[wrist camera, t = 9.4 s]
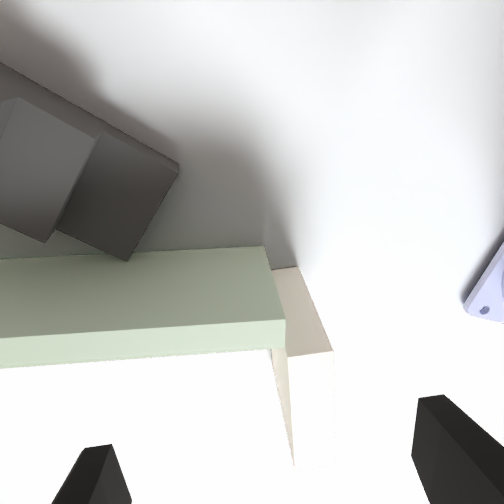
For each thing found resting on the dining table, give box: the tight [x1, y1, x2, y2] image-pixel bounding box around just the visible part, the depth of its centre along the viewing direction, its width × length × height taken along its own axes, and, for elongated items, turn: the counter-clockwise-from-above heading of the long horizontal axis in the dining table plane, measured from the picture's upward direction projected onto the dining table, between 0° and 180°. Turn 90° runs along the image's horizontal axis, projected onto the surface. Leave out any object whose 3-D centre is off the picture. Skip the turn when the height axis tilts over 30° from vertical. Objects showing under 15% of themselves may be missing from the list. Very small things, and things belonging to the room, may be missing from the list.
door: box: [0, 246, 286, 369], centre depth 16 cm, size 14×2×6 cm, turn 90°
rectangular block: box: [271, 267, 334, 470], centre depth 14 cm, size 28×2×6 cm, turn 5°
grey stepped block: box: [0, 63, 179, 262], centre depth 15 cm, size 8×4×4 cm, turn 57°
